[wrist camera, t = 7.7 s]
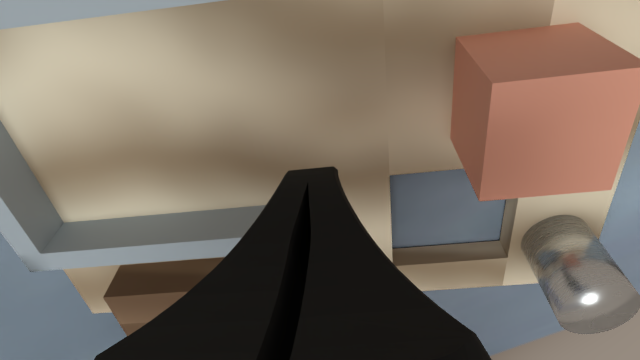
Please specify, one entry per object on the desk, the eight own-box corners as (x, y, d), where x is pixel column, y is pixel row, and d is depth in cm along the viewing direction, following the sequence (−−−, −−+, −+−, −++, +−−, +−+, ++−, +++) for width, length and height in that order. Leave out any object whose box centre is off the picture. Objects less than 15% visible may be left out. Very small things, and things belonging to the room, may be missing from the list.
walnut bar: (291, 306, 23) (288, 338, 21) (148, 315, 24) (135, 348, 22) (277, 253, 21) (273, 285, 19) (120, 265, 21) (102, 297, 20)
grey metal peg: (581, 259, 21) (628, 331, 17) (516, 264, 21) (551, 336, 18) (596, 211, 19) (651, 282, 16) (526, 217, 19) (566, 287, 16)
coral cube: (555, 127, 17) (611, 189, 13) (450, 138, 17) (479, 201, 14) (578, 22, 14) (652, 65, 11) (456, 37, 15) (492, 83, 11)
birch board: (573, 262, 22) (584, 279, 21) (102, 296, 25) (93, 313, 24) (697, -139, 13) (728, -140, 12) (-101, -24, 15) (-131, -17, 14)
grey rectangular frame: (335, 216, 19) (335, 247, 18) (53, 240, 20) (30, 271, 19) (297, -59, 13) (293, -50, 11) (-107, -3, 14) (-163, 13, 13)
